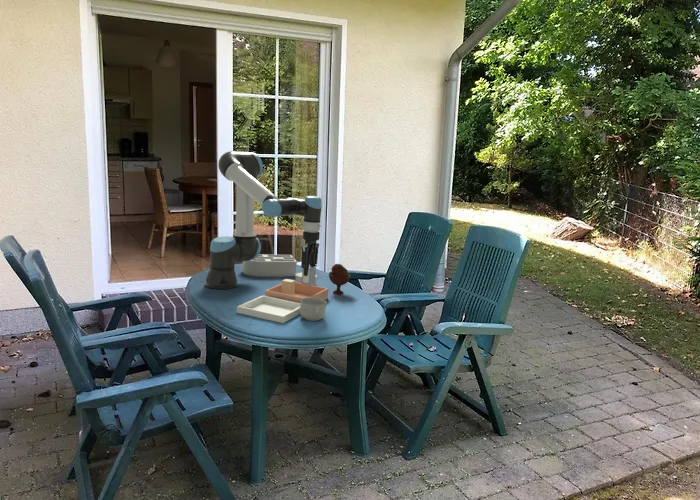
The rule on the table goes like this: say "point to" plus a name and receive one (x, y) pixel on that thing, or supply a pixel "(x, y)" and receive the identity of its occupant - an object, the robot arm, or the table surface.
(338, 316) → the table surface
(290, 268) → the grey compartment organizer
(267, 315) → the parts tray
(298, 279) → the ramekin
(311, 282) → the pale grey box block
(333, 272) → the ice cream bowl
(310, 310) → the teacup
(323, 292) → the orange square tray
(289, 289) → the tall cardboard carton
